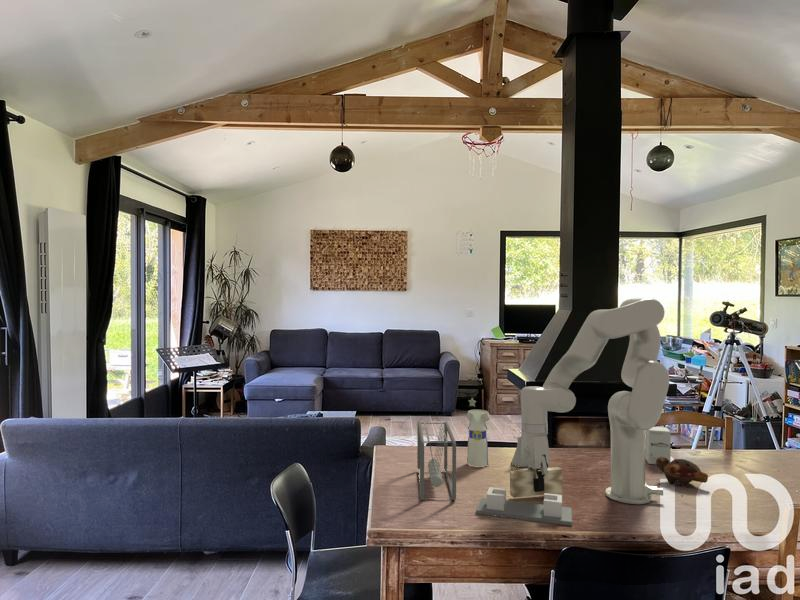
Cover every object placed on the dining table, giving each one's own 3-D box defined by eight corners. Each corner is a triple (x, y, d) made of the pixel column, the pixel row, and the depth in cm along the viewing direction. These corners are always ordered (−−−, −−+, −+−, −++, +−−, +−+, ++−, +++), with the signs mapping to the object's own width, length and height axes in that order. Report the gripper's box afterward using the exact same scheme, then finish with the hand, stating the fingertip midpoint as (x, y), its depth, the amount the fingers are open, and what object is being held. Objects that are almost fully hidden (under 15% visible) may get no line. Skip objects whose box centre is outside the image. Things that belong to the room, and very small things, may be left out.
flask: (507, 463, 187) (507, 436, 187) (523, 461, 190) (523, 434, 190) (519, 469, 180) (519, 440, 181) (536, 466, 184) (535, 438, 184)
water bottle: (489, 469, 180) (489, 398, 181) (465, 467, 182) (465, 397, 182) (490, 462, 188) (490, 394, 189) (467, 460, 190) (467, 393, 190)
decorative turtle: (659, 475, 174) (659, 452, 174) (710, 485, 164) (710, 460, 164) (652, 483, 166) (652, 458, 166) (705, 493, 157) (705, 467, 157)
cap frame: (571, 511, 142) (571, 493, 142) (572, 525, 133) (572, 506, 133) (481, 501, 150) (481, 484, 150) (476, 513, 140) (476, 495, 140)
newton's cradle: (417, 471, 178) (417, 420, 178) (447, 471, 178) (447, 420, 178) (420, 503, 148) (420, 442, 148) (456, 503, 148) (456, 442, 148)
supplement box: (648, 464, 186) (648, 429, 187) (645, 458, 193) (645, 425, 194) (671, 466, 184) (670, 431, 184) (666, 460, 191) (666, 426, 192)
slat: (558, 489, 156) (558, 466, 156) (562, 492, 154) (562, 469, 154) (510, 494, 152) (509, 471, 153) (513, 497, 150) (513, 473, 150)
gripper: (511, 423, 160) (513, 482, 160) (536, 435, 145) (538, 500, 144) (533, 421, 162) (535, 479, 162) (559, 433, 146) (562, 497, 146)
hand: (536, 488), depth 153 cm, fingers closed on slat, 2 cm apart
